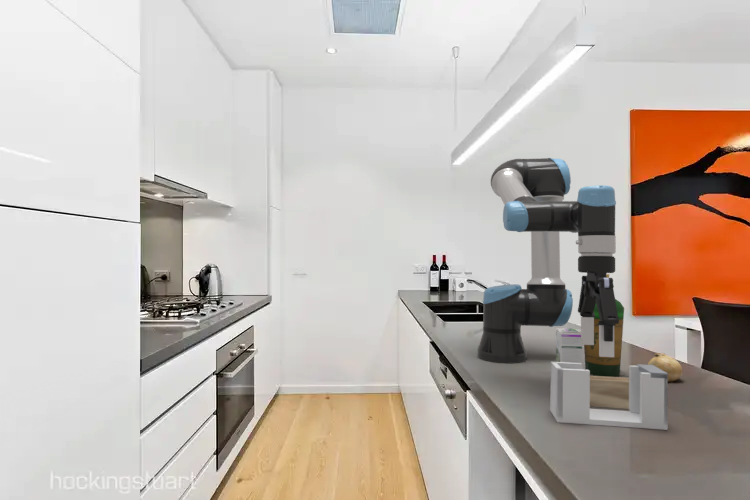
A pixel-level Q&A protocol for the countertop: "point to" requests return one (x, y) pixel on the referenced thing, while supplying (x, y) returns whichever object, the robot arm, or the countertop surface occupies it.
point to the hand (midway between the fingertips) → (596, 350)
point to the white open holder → (643, 410)
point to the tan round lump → (667, 366)
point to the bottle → (592, 358)
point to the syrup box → (569, 346)
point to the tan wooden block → (609, 392)
